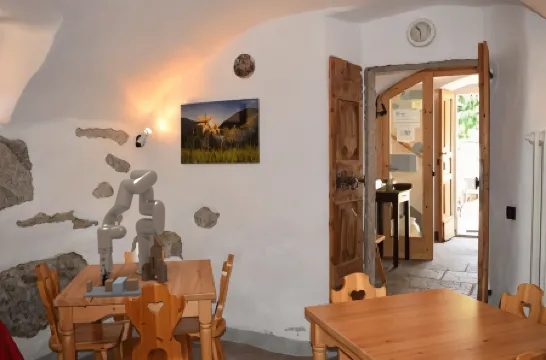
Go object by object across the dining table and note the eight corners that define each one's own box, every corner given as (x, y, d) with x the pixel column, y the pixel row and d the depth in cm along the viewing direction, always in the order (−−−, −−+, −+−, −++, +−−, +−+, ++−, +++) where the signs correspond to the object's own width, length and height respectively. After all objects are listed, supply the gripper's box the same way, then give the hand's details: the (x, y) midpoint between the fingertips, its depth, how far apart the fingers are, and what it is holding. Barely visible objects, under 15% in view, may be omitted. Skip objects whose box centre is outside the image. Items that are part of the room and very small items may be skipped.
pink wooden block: (102, 283, 282) (102, 272, 281) (113, 283, 282) (112, 272, 282) (100, 285, 277) (99, 274, 277) (111, 285, 278) (110, 274, 277)
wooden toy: (141, 280, 287) (139, 235, 286) (150, 277, 292) (148, 233, 291) (160, 284, 278) (159, 237, 277) (170, 281, 284) (168, 235, 282)
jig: (92, 289, 270) (92, 277, 270) (145, 287, 272) (145, 275, 272) (83, 298, 254) (82, 285, 254) (139, 295, 256) (139, 283, 256)
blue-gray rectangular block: (119, 286, 270) (118, 277, 269) (127, 286, 270) (127, 276, 270) (112, 293, 257) (112, 283, 256) (122, 293, 257) (121, 283, 257)
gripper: (108, 253, 270) (110, 288, 271) (116, 247, 287) (117, 280, 288) (93, 253, 270) (95, 288, 271) (102, 247, 287) (103, 280, 288)
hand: (106, 283), depth 280 cm, fingers closed on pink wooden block, 4 cm apart
